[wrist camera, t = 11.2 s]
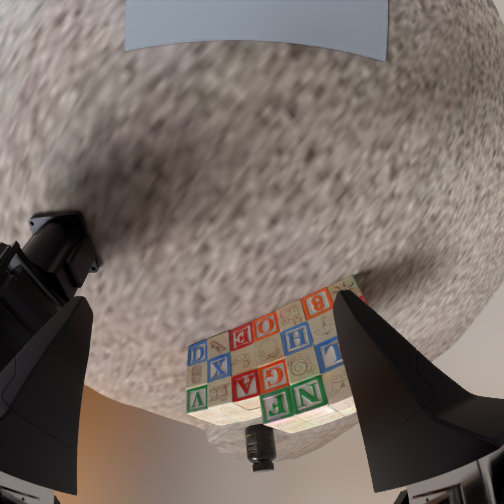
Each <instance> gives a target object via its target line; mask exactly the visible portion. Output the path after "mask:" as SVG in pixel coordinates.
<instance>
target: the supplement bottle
mask: <svg viewBox="0 0 504 504" xmlns="http://www.w3.org/2000/svg"><path fill="white" fill-rule="evenodd" d="M245 437H246V448H247V458H248V460H249V461H250V462H252V463H253V466H252V467H253V472H267V471H272V470H274V466H273V465H274V464H273V463H272V461H273V460H275V459H276V456H277V455H276V447H275V440H274V433H273V428H272V427H269V426H266V425H264V424H260V425H253V426H249V427H247V428H246V429H245Z"/></svg>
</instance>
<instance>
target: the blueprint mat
mask: <svg viewBox="0 0 504 504" xmlns="http://www.w3.org/2000/svg"><path fill="white" fill-rule="evenodd" d="M387 29H388V0H126V15H125V51H131V50H136V49H142V48H148V47H154V46H161V45H168V44H177V43H187V42H201V41H227V40H241V41H268V42H281V43H292V44H300V45H308V46H315V47H321V48H327V49H333V50H338V51H343V52H348V53H352V54H357V55H361V56H365V57H369V58H373V59H376V60H380V61H383V62H386V49H387Z"/></svg>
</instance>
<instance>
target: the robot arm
mask: <svg viewBox="0 0 504 504" xmlns="http://www.w3.org/2000/svg"><path fill="white" fill-rule="evenodd" d="M75 216H76V217H78V219H77V218H76V217H75ZM28 223H29V226H30V229H31V231H32V234H33V236H32V237H31V238H30V240H29V241H28V242H27V243H26V245H25V246H24V247H23V249H21V248H20V245H19V243H18V242H17V241H15V242H14V243H13V244H12V245H11V246H10V245H6V244H4V243H2V242H1V243H0V504H60V502H59V501H58V499H57V498H56V496H54V490H56V491H60V492H63V493H68V494H72V495H77V444H78V428H79V418H80V409H81V400H82V393H83V386H84V379H85V373H86V368H87V362H88V356H89V350H90V340H91V331H92V323H93V312H92V309H91V307H90V305H89V304H88V302H87V300H86V298H85V297H83V296H75V297H74V295H75V293H76V291H77V289H78V288H81V287H82V285H83V283H84V281H85V279H86V277H87V275H88V273H95V272H97V271H98V269H99V265H98V262H97V259H96V254H95V252H94V249H93V246H92V243H91V240H90V237H89V235H88V233H87V230H86V227H85V224H84V220H83V217H82V215H81V213H80V212H77V211H75V212H66V213H58V214H50V215H42V216H34V217H31V218H30V219H29V221H28ZM94 267H95V268H94ZM333 316H334V321H335V326H336V332H337V338H338V343H339V349H340V352H341V356H342V359H343V363H344V366H345V370H346V374H347V377H348V381H349V384H350V388H351V392H352V396H353V400H354V403H355V407H356V411H357V415H358V419H359V423H360V427H361V432H362V436H363V440H364V445H365V449H366V454H367V459H368V463H369V468H370V472H371V478H372V483H373V488H374V492H375V493H377V492H382V491H386V490H391V489H395V488H399V487H403V486H406V488H407V489H406V490H404V491H401V492H400V494H399V496H398V497H397V499H396V501H395V502H394V504H504V399H498V398H490V397H482V396H477V395H474V394H471V393H469V392H468V391H466V390H465V389H463V388H462V387H461V386H460V385H458V384H457V383H456V382H455V381H453V380H452V379H451V378H450V377H448V376H447V375H446V374H444V373H443V372H442V371H441V370H440V369H438V368H437V367H436V366H434V365H433V364H432V363H431V362H430V361H429V360H428V359H427V358H426V357H425V356H423V355H422V354H421V353H420V352H419V351H418V350H417V349H416V348H415V347H414V346H413V345H412V344H410V343H409V342H408V341H407V340H406V339H405V338H404V337H403V336H402V335H401V334H400V333H398V332H397V331H396V330H395V329H394V328H393V327H392V326H391V325H390V324H389V323H387V322H386V321H385V320H384V319H383V318H382V317H381V316H380V315H378V314H377V313H376V312H375V311H374V310H373V309H372V308H371V307H369V306H368V305H367V304H366V303H365V302H364V301H363V300H362V299H360V298H359V297H358V296H357V295H356V294H355V293H354V292H352V291H351V290H349V289H345V290H339V291H338V292H337V295H336V298H335V301H334V304H333Z"/></svg>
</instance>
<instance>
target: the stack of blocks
mask: <svg viewBox="0 0 504 504" xmlns="http://www.w3.org/2000/svg"><path fill="white" fill-rule="evenodd" d="M345 289H349V290H351V291H352V292H354V293H355V294H356V295H357V296H358V297H359V298H360V299H362V300H363V301H364V302H365V303H366V301H365V299H364V297H363V296H362V293H361V291H360V289H359V287H358V285H357V283H356V281H355V279H354V277H353V275H351V276H349V277H347V278H345V279H343V280H341V281H339V282H337V283H335V284H333V285H331V286H329V287H325V288H323V289H321V290H319V291H317V292H315V293H312V294H310V295H308V296H306V297H304V298H302V299H300V300H297V301H295V302H292V303H290V304H288V305H286V306H284V307H281V308H279V309H277V310H276V311H274V312H272V313H270V314H268V315H265V316H263V317H261V318H258V319H256V320H254V321H252V322H249V323H247V324H245V325H242V326H240V327H238V328H235V329H233V330H231V331H227V332H224V333H222V334H219V335H217V336H214V337H212V338H209V339H207V340H204V341H201V342H198V343H196V344H193V345H191V346H189V347H188V361H187V367H188V368H187V376H186V389H187V414H189V415H192V416H194V417H197V418H199V419H201V420H205V421H208V422H211V423H213V424H216V425H219V426H221V425H226V424H230V423H235V422H238V421H240V422H241V421H246V420H250V419H254V418H258V417H261V416H262V419H263V424H264V425H266V426H269V427H272V428H275V429H279V430H283V431H285V432H288V433H295V432H298V431H302V430H306V429H309V428H312V427H315V426H319V425H322V424H325V423H328V422H331V421H334V420H337V419H340V418H342V417H344V416H347V415H349V414H352V413H355V412H357V411H356V407H355V403H354V400H353V396H352V392H351V388H350V384H349V381H348V377H347V374H346V370H345V366H344V363H343V359H342V356H341V352H340V349H339V343H338V338H337V332H336V326H335V321H334V316H333V304H334V301H335V298H336V295H337V292H338V291H339V290H345ZM366 304H367V303H366Z"/></svg>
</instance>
